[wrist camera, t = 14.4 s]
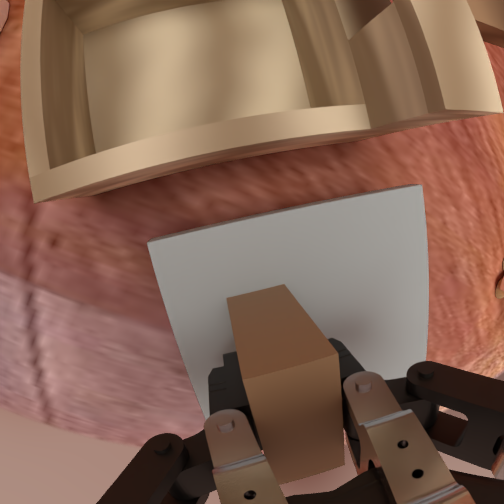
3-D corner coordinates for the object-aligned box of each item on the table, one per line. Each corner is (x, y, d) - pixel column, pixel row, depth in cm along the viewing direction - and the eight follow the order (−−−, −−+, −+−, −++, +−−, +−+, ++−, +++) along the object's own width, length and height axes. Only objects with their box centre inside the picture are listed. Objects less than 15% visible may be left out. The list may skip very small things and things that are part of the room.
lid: (213, 429, 16) (223, 530, 9) (150, 238, 13) (100, 290, 6) (416, 365, 17) (484, 428, 10) (410, 184, 14) (518, 192, 8)
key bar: (409, 34, 9) (443, 13, 7) (385, -25, 9) (412, -50, 6) (539, 69, 10) (565, 64, 8) (523, 25, 10) (548, 17, 7)
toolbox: (93, 195, 16) (-40, 216, 5) (73, 34, 14) (-13, -61, 3) (357, 141, 18) (503, 112, 7) (316, -8, 15) (395, -111, 4)
